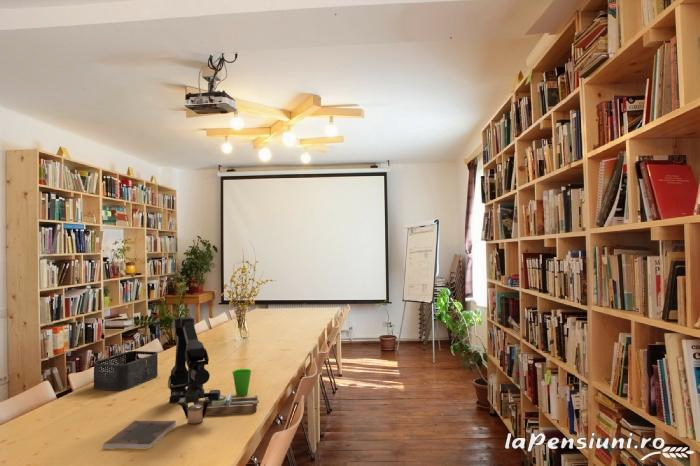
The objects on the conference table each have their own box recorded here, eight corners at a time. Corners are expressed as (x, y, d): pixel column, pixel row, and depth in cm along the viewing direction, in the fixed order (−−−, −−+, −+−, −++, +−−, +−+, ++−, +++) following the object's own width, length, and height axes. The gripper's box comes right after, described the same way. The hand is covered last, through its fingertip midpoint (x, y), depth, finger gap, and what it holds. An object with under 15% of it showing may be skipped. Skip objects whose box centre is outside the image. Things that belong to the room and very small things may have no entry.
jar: (186, 423, 177) (186, 409, 177) (189, 418, 183) (189, 404, 183) (201, 423, 178) (201, 409, 178) (204, 417, 183) (204, 404, 184)
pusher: (226, 412, 190) (226, 400, 191) (228, 405, 198) (228, 394, 199) (258, 410, 192) (258, 398, 192) (259, 403, 200) (259, 392, 201)
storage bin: (122, 391, 222) (122, 364, 222) (89, 389, 227) (90, 362, 227) (160, 376, 249) (160, 351, 250) (130, 374, 254) (130, 350, 255)
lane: (188, 416, 187) (188, 407, 187) (194, 407, 198) (194, 398, 198) (255, 412, 190) (255, 403, 191) (257, 403, 202) (257, 395, 202)
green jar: (210, 412, 191) (210, 399, 191) (213, 408, 196) (213, 395, 197) (225, 412, 191) (225, 399, 192) (226, 407, 197) (226, 394, 197)
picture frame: (149, 450, 156) (175, 426, 177) (149, 443, 156) (175, 420, 177) (102, 450, 156) (134, 426, 178) (102, 443, 156) (134, 420, 178)
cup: (232, 398, 209) (232, 374, 210) (231, 392, 218) (231, 369, 218) (252, 396, 212) (252, 372, 212) (251, 390, 220) (251, 368, 221)
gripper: (165, 385, 171) (165, 427, 171) (216, 383, 174) (216, 424, 173) (173, 377, 182) (172, 416, 182) (220, 375, 185) (220, 413, 184)
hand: (195, 418), depth 180 cm, fingers closed on jar, 6 cm apart
